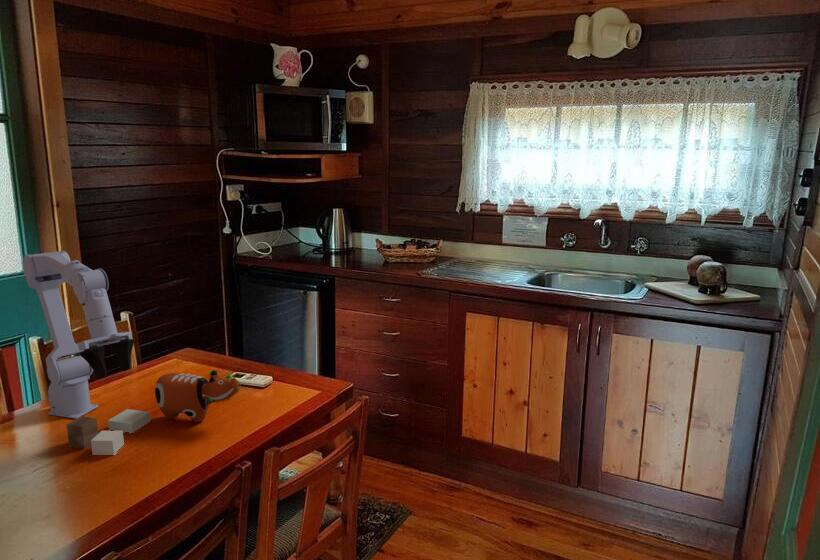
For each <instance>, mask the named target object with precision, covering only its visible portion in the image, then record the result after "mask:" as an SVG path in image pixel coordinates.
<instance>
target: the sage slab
mask: <svg viewBox="0 0 820 560" xmlns="http://www.w3.org/2000/svg"><path fill="white" fill-rule="evenodd" d="M151 420H152V419H151V412H150V411H145V410H136V409H130V408H129V409H128V408H126V409H125V410H123V411H122V412H119V413H118V414H117V415H115V416H114V417H111V418H109V419H108V420H107V424H108V426H107V427H108V431H111V430H114V431H123V433H125V432H129V433H128V434H131V433H133V432H134V433H135V431H136V430H137V429H139V428H140V429H142V428H143V427H145V426H146V425H148V424H149V423H150V421H151ZM148 422H149V423H148ZM151 422H152V421H151ZM147 423H148V424H147ZM145 424H146V425H145ZM144 425H145V426H144ZM142 426H143V427H142ZM141 427H142V428H141ZM140 429H139V430H140ZM137 431H138V430H137ZM137 431H136V432H137ZM134 433H133V434H134Z"/></svg>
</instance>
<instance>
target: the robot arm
mask: <svg viewBox="0 0 820 560" xmlns="http://www.w3.org/2000/svg"><path fill="white" fill-rule="evenodd" d="M22 270H23V273H24V276H25V280H26V283H27V284H28V287H29V288H30V289H33V290H35V291H36V293H37V296H38V298H39V301H40V305H41V307H42V311H43V314H44V317H45V322H46V325H47V327H48V331H49V334H50V337H51V341H52V344H53V349H52V351H51V352H49V354H48V355H47V356H46V358H45V363H46V373H47V377H48V379H49V381H50V384H49V385H48V389H47V394H48V395H47V396H48V401H49V409H50V411H48V415H50V416H56V417H63V418H69V419H74V420H75V419H77V418H79V417H81V416H84V415H86V414H88V413H89V412H92V411H93V410H95V409H97V408H98V407H99V404H94V403H91V398H90V397H91V396H90V390H89V389H90V387H89V380H90V379H91V377H90V376H91V375H92V374H93V372H94V373H95V375H96V377H97V379H103V378H106V377H108V370H107V366H106V358H105V351H106V347H105V346H107V345H111V346H110V348H111V349H112V351H113V353H114V354H115V356H116V358H117V362H118V364H119V368H120V369H121V371H122V372H125V371H129V370H131V369H132V363H131V362H132V350H133V347H134V344H135V341H134V340H135V339H134V338H133V336H132V334H131V333H132V332H131V331H125V332H118V329H117V326H116V322H115V318H114V314H113V311H112V307H111V303H110V299H109V296H108V293H107V292H108V290H109V284H110V282H109V279H108V275H107V273H106V271H105V270H104V269H103V268H101V267H100V268H96V269H94V270H93V269H91V268H90V267H88V266H86V265H85V264H83V263H81V262H80V260H78V259H75V260H71V258H70V255H69V254H68V252H66V251H65V250H59V251H52V252H43V253H34V254H29V253H28V254H25V255H24V256H23V259H22ZM65 283H67V284H68V285H70V286H71V287H72V289H73V292H74V294H75V295H76V297H77V300H78V303H79V304H80V305H82V309H83V313H84V317H85V320H86V323H87V327H88V331H89V335H90V338H91V339H88V340H82V341H79V342H77V343H75V339H74V336H73V333H72V330H71V325H70V323H69V319H68V317H67V313H66V310H65V307H64V303H63V300H62V297H61V294H60V289H59V287H60V286H61V285H62V284H65ZM106 341H107V342H106ZM112 344H114V345H112Z"/></svg>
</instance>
